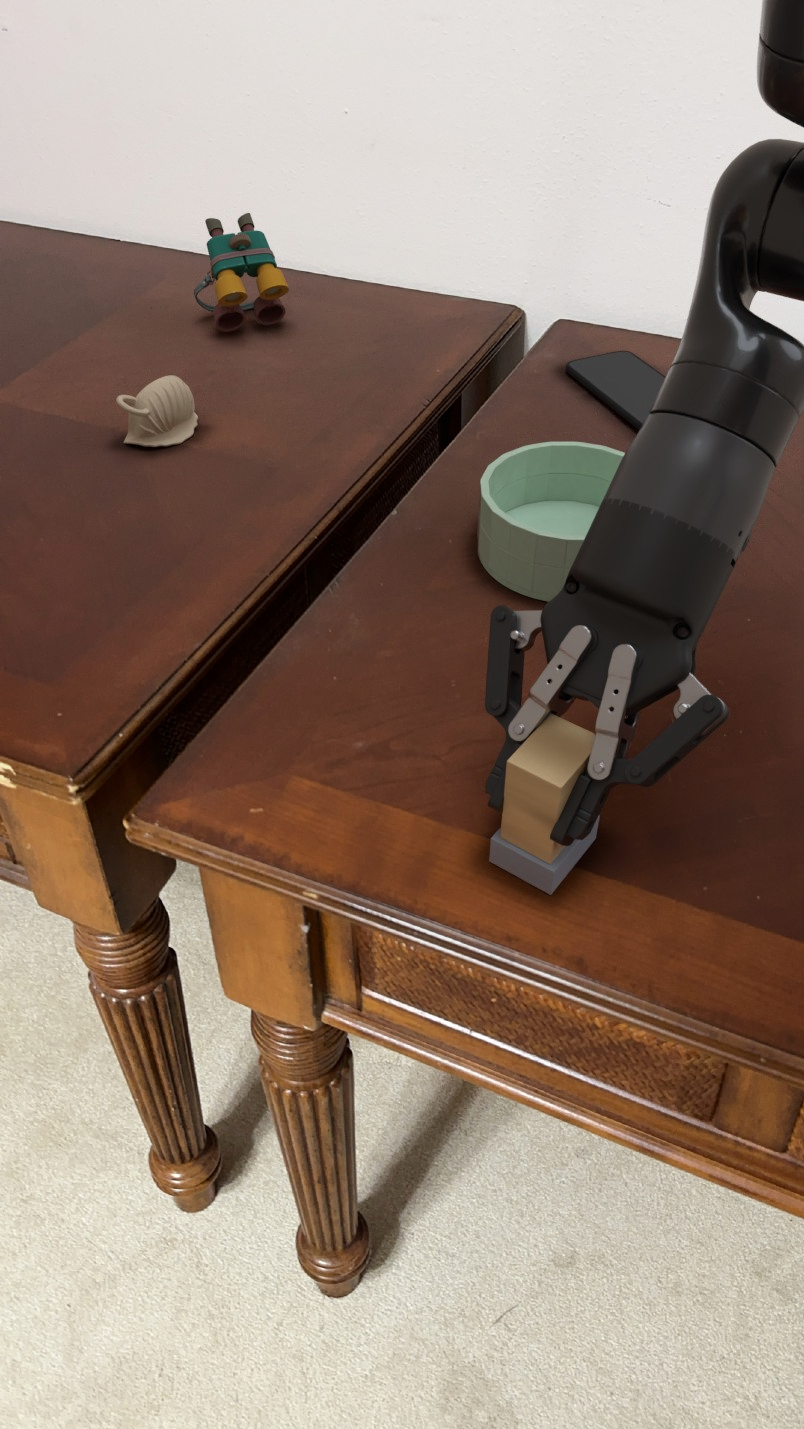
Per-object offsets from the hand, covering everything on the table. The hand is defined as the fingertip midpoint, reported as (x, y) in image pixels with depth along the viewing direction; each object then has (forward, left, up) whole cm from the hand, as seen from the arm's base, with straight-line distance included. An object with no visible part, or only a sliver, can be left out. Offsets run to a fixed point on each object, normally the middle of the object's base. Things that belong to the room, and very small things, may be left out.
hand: (529, 824), depth 58 cm
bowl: (+4, -31, -4) cm, 32 cm away
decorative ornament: (+41, -37, -4) cm, 56 cm away
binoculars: (+43, -60, -4) cm, 74 cm away
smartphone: (+3, -57, -4) cm, 57 cm away
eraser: (-1, -2, -4) cm, 4 cm away
